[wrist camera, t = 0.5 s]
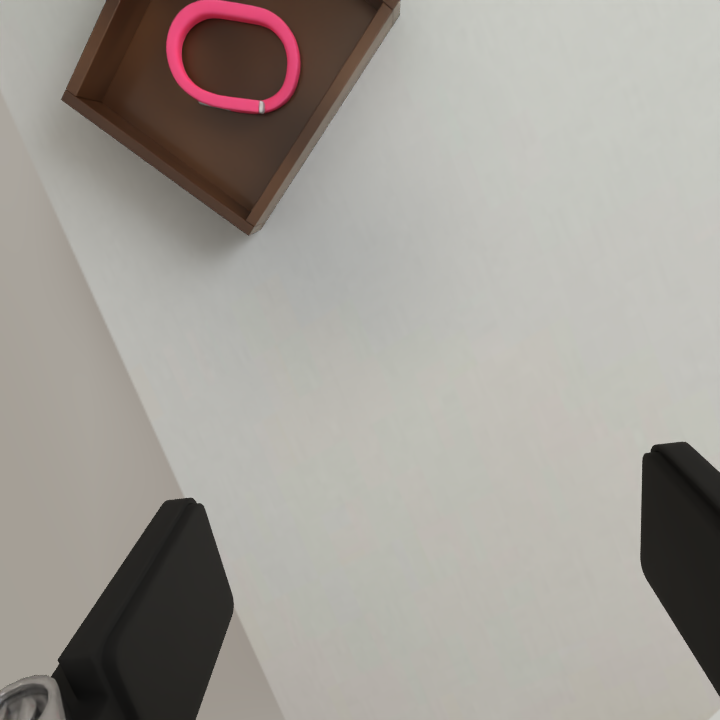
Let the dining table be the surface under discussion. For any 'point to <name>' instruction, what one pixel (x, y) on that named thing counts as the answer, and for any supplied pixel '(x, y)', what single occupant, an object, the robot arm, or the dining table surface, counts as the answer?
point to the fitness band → (239, 12)
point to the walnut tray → (225, 92)
